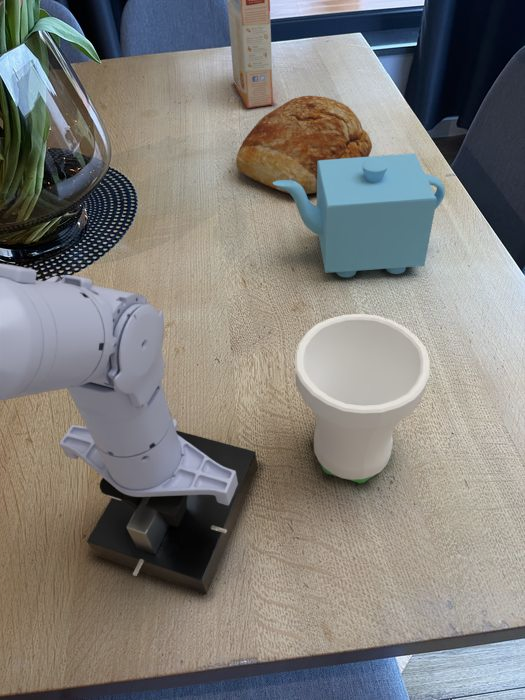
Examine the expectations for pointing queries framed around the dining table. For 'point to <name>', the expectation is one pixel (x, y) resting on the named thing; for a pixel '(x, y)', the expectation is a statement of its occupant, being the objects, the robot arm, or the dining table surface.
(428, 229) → the teapot
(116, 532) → the switch base
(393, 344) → the cup
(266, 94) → the cracker box
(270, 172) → the bread
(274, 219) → the dining table surface
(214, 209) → the dining table surface
